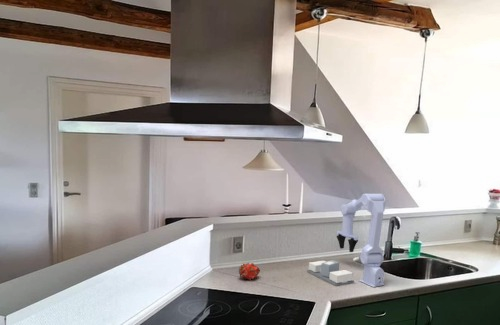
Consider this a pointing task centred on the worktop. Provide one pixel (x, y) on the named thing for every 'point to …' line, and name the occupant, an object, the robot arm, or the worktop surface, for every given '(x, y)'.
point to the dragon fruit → (249, 271)
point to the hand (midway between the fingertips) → (346, 250)
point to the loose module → (329, 267)
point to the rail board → (331, 274)
